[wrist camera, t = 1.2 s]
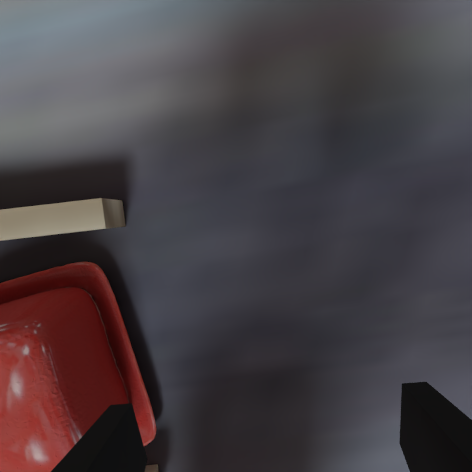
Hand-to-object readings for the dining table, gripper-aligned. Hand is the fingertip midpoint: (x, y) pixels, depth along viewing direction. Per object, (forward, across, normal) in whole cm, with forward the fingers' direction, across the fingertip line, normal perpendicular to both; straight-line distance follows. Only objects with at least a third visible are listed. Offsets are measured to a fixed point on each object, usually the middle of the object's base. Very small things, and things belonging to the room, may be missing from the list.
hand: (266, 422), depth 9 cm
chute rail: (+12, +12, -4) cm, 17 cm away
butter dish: (+10, +13, +5) cm, 17 cm away
